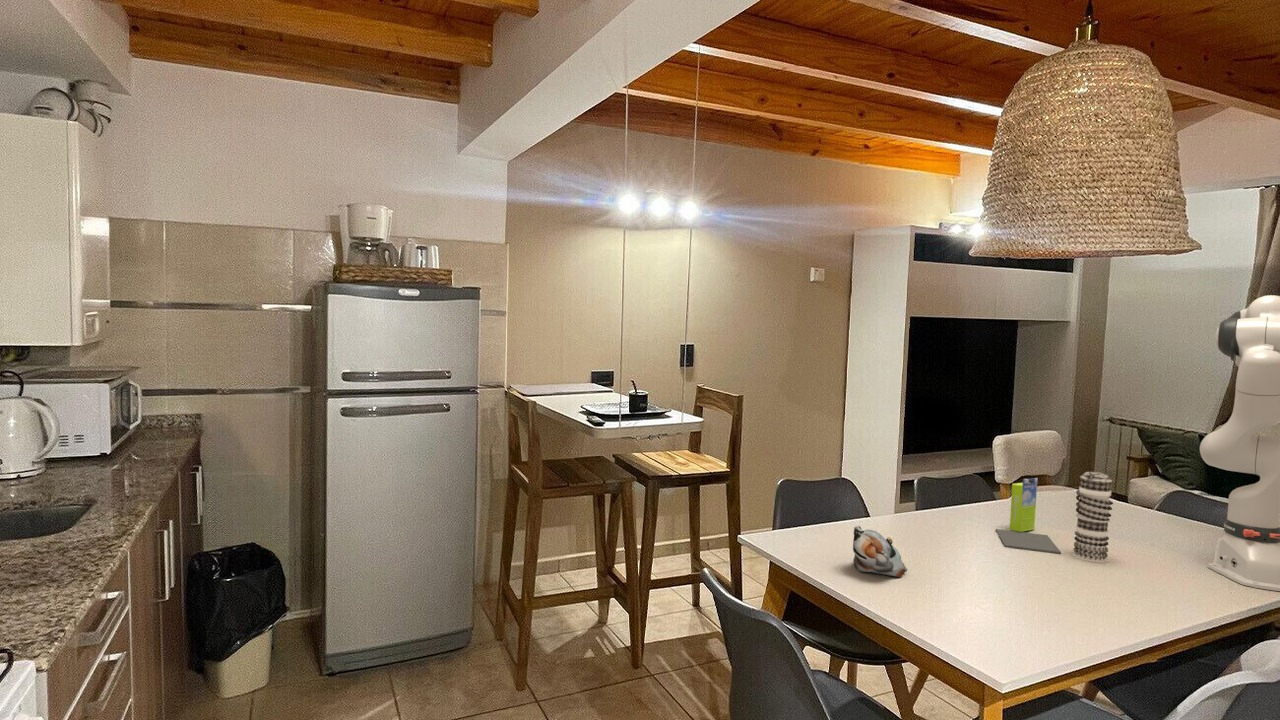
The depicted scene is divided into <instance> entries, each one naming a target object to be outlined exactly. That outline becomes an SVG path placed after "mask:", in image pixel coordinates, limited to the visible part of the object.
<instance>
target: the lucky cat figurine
mask: <svg viewBox="0 0 1280 720" xmlns="http://www.w3.org/2000/svg"><path fill="white" fill-rule="evenodd" d="M852 551H853V553H854V557H853V560H852V561H853V565H854V567H856V569H857V570H858V571H859V572H860V573H874V574H880V575H885V576H890V577H895V578H901V577H902V575H904V573H906V572H908V568H907V567H906V565H905V563H904V562H903V561H902V557H901V554H900V552H899V551H898V549H897V548H895V546H894V545H893V539H892V538H891V537H887V538H885V537H884V536H882V534H881V533H880V532H877V530H873V529H864V530H863V529H862V528H861V526H859V525H856V526H854V527H853V543H852Z"/></svg>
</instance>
